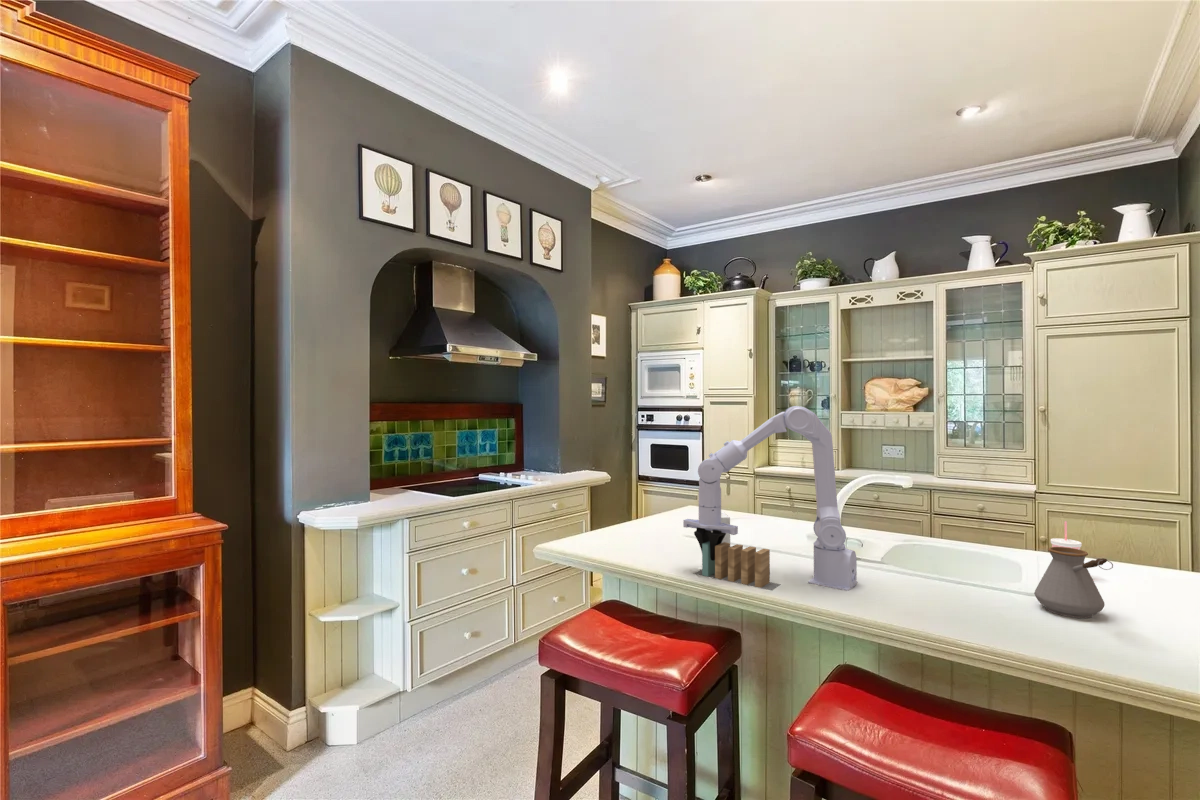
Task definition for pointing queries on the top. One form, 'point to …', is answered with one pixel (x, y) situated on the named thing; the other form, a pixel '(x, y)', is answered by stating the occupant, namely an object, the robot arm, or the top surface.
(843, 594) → the top surface
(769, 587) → the mat
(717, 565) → the domino
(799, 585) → the top surface
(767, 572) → the domino
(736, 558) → the domino
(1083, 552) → the coffee pot
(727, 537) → the small box
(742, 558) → the domino
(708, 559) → the teal domino
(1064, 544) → the beverage cup
